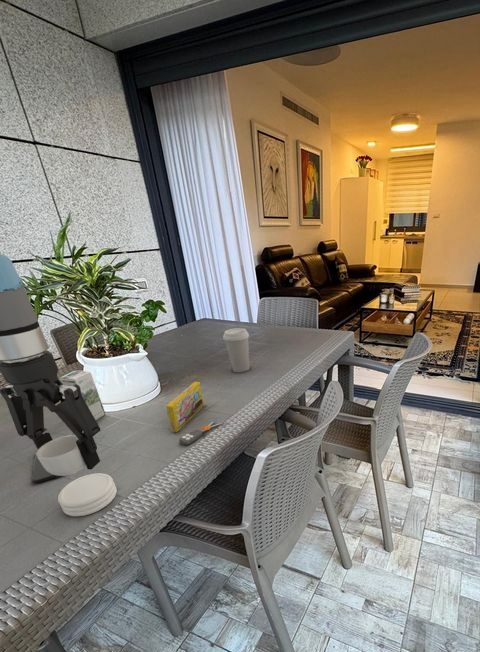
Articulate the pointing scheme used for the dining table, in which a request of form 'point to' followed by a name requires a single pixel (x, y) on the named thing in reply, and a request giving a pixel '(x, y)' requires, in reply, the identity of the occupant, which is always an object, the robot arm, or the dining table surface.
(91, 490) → the coaster
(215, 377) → the dining table surface
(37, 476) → the smartphone
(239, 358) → the coffee cup
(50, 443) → the teacup
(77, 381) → the syrup box
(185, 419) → the candy box
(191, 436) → the key chain
